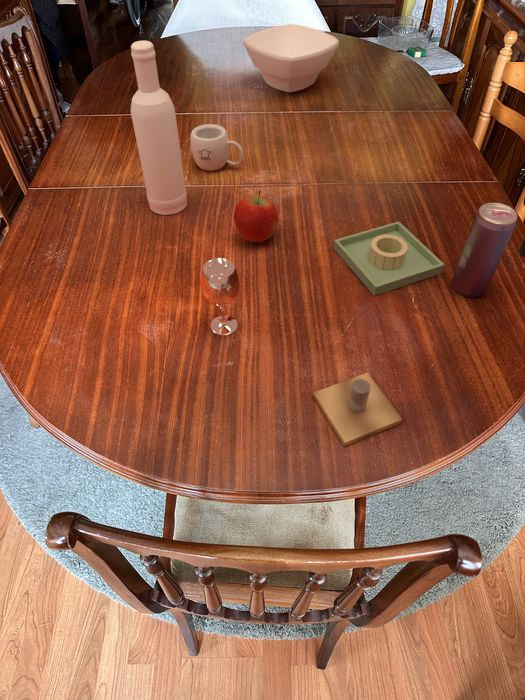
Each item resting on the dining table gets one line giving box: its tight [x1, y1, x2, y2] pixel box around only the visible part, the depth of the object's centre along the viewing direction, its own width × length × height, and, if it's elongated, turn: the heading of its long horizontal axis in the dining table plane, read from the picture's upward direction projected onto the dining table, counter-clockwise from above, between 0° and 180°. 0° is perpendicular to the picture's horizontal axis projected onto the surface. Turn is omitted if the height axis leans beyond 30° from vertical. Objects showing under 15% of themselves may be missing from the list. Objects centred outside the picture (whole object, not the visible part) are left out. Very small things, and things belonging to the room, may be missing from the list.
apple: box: [233, 190, 279, 244], centre depth 94 cm, size 8×8×10 cm
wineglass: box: [200, 257, 241, 336], centre depth 78 cm, size 6×6×12 cm
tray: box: [333, 221, 445, 296], centre depth 92 cm, size 14×14×2 cm
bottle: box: [130, 40, 188, 216], centre depth 94 cm, size 8×8×30 cm
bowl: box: [242, 23, 340, 93], centre depth 139 cm, size 22×22×12 cm
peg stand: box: [312, 372, 403, 447], centre depth 69 cm, size 9×9×6 cm
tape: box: [369, 234, 408, 270], centre depth 91 cm, size 6×6×3 cm
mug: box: [189, 123, 244, 172], centre depth 112 cm, size 12×8×8 cm
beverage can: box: [451, 202, 518, 298], centre depth 82 cm, size 6×6×15 cm
